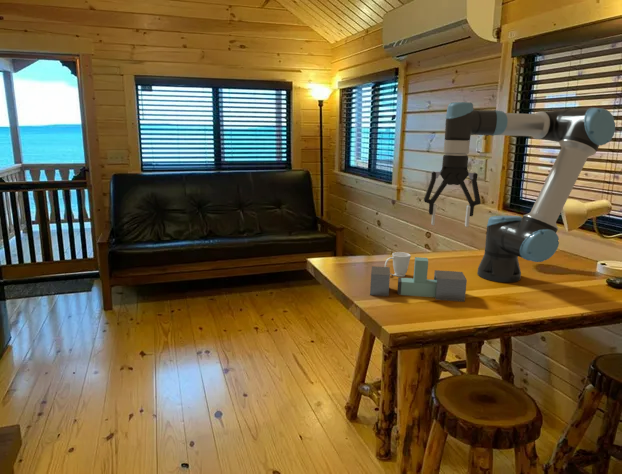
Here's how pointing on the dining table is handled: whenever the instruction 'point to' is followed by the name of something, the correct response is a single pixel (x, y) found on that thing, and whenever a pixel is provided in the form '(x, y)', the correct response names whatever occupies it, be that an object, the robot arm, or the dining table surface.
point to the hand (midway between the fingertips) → (449, 225)
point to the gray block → (450, 285)
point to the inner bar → (418, 281)
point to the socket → (380, 281)
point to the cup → (400, 263)
